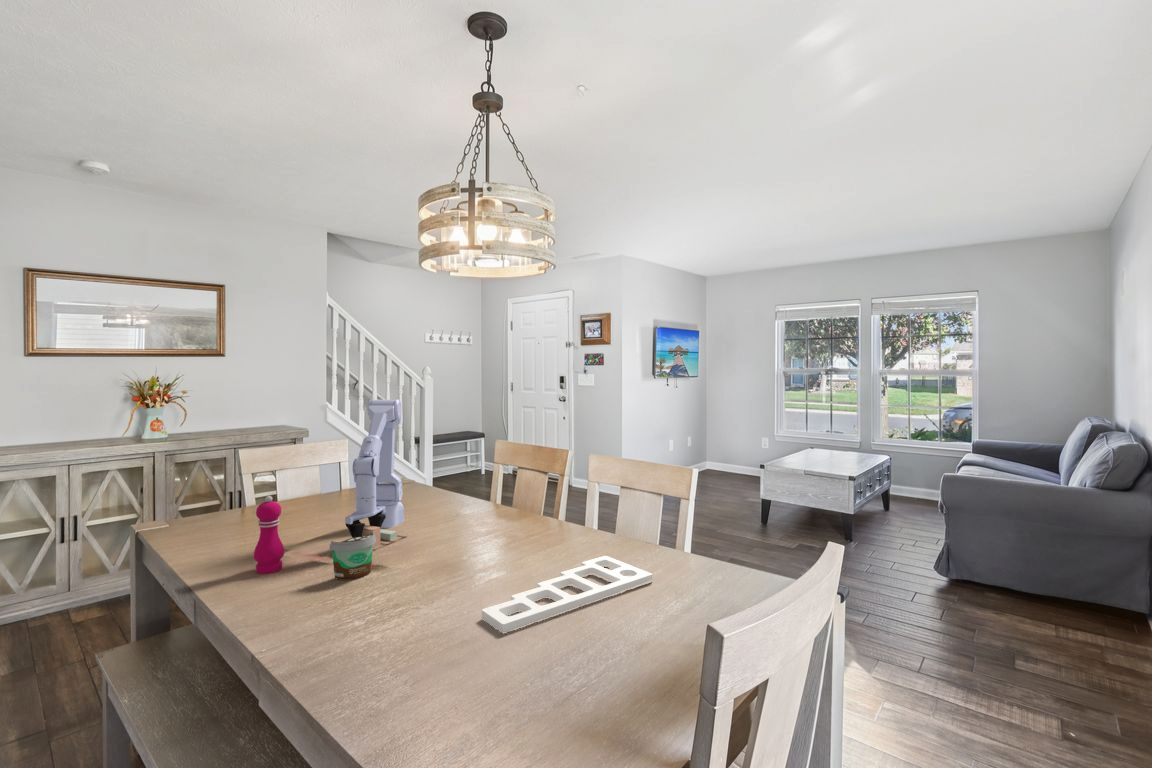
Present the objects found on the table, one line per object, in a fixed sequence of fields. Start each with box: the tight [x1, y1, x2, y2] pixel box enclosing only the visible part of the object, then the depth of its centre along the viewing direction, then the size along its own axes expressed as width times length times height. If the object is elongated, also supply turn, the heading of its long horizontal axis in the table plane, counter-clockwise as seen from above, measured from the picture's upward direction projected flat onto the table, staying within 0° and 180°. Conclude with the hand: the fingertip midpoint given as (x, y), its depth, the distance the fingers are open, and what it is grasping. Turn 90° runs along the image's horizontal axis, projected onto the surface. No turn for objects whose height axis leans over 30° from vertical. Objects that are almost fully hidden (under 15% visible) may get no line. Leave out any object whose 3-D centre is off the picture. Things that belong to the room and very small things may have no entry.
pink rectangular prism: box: [362, 524, 381, 549], centre depth 166 cm, size 3×8×7 cm, turn 68°
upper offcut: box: [380, 528, 398, 541], centre depth 174 cm, size 3×7×2 cm, turn 68°
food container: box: [329, 531, 376, 581], centre depth 146 cm, size 12×6×10 cm, turn 143°
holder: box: [481, 555, 653, 632], centre depth 135 cm, size 45×18×3 cm, turn 129°
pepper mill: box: [253, 495, 285, 575], centre depth 150 cm, size 7×7×20 cm
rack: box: [373, 534, 407, 552], centre depth 170 cm, size 15×12×2 cm
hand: (366, 541), depth 167 cm, fingers open, 6 cm apart
